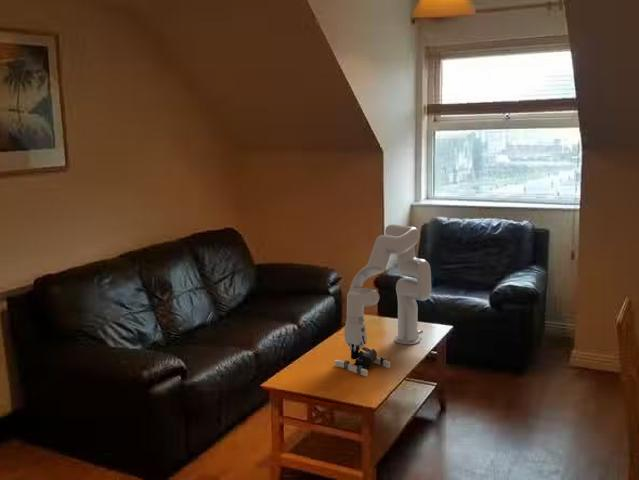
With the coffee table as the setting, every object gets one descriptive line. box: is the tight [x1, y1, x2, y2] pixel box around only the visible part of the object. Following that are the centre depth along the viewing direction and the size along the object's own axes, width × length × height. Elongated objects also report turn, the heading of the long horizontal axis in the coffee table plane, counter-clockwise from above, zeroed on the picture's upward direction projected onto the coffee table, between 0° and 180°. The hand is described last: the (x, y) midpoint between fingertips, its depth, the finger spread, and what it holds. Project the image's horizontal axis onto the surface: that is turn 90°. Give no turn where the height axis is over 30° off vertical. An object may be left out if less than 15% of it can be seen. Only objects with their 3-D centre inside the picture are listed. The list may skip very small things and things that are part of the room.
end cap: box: [353, 346, 378, 370], centre depth 297 cm, size 10×7×7 cm
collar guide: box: [334, 350, 391, 377], centre depth 298 cm, size 18×19×4 cm
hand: (354, 358), depth 300 cm, fingers closed
